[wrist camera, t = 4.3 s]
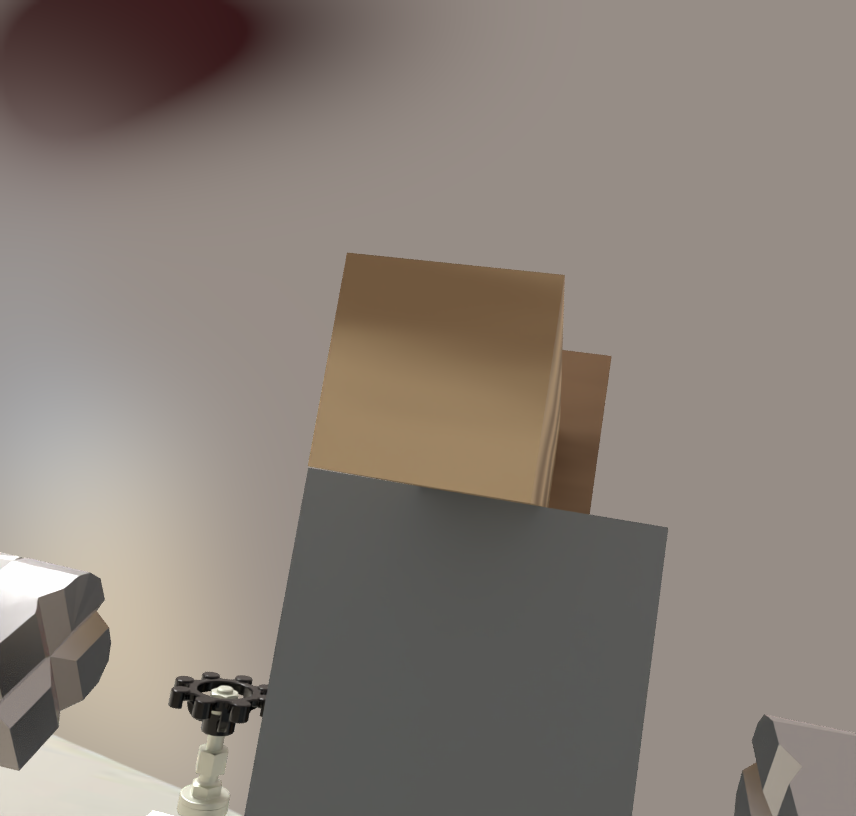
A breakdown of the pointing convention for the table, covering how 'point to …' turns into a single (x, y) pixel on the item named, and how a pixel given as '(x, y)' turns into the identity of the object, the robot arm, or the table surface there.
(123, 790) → the table surface
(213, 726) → the valve
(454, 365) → the rail
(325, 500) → the grey slab on plinth
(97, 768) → the table surface
